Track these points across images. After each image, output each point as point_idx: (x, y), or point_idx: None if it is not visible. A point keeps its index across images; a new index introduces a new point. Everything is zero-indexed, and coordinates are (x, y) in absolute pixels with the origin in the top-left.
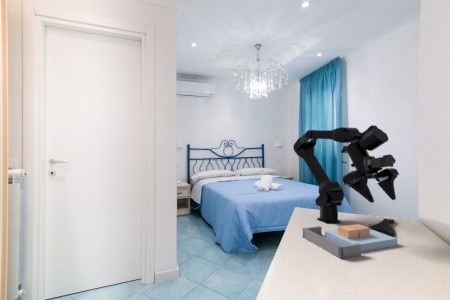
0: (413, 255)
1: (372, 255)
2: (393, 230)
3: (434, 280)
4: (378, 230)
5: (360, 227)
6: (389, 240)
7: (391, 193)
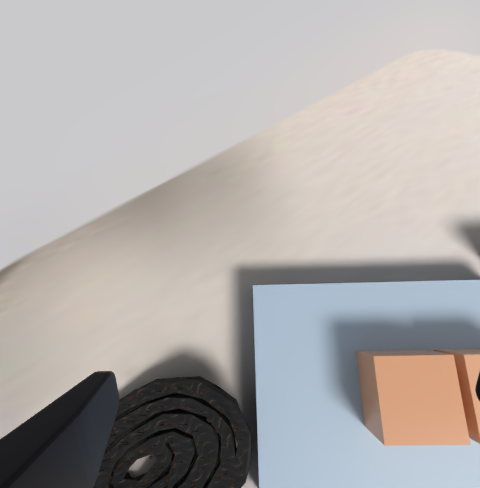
0: (284, 204)
1: (437, 243)
2: None
3: (383, 88)
4: (237, 405)
5: (424, 382)
6: (301, 284)
7: (67, 455)
